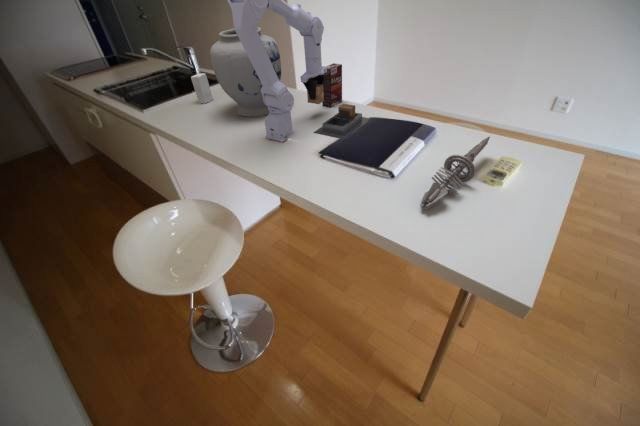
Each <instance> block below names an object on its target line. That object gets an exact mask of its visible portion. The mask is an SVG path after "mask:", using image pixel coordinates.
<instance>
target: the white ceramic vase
mask: <svg viewBox="0 0 640 426" xmlns="http://www.w3.org/2000/svg"><path fill="white" fill-rule="evenodd" d="M256 29H257V32H258V34H259V36H260V39H261V41H262V43H263V45H264V48H265V50H266V52H267V54H268V57H269V59H270V61H271V63H272V66H273V68H274V70H275V72H276V75H277V77H278V79H279V81H281V78H282V63H281V62H282V61H281V55H280V50H279V45H278V43H277V41H276V40H275V38H273V37H272V36H269V35H265V34H262V33H261V32H262V27H258V26H257V28H256ZM218 36H219V37H220V39H219V40H218V41H216V42H215V43H214V44H212V46H210V47H211V48H210V50H209V51H210V55H209V56H210V60H211V61H210V62H211V65H212V66H211V67H212V69H213V73H214V75H215V77H216V79H217V80H216V81H217V83H218V84H219V85H220V87H221V89H222V90H223V91H224V93H225V94H226V95H227V96H228V97H229V98H230V99H232V101H234V102H235V103H237V105H238V107H237V109H236V113H237V114H238V115H239V116H242V117H248V118H249V117H250V118H253V117H262V116H266V115H267V116H268V114H269V110H268V106H266V105H265V104H264V102H263V96H262V93H261V91H260V90H261V88H262V86H263V85H262V83H261V81H260V79H259V77H258V75H257V73H256V71H255V69H254V67H253V65H252V63H251V61H250V59H249V57H248V55H247V53H246V51H245V49H244V47H243V45H242V43H241V41H240V39H239V37H238V35H237V33H236V31H235V28H230V29H227V30H222V31H220V32H219V33H218Z"/></svg>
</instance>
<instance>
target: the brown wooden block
mask: <svg viewBox="0 0 640 426" xmlns="http://www.w3.org/2000/svg"><path fill="white" fill-rule="evenodd" d="M337 108H338V114H339V117H340V118H345V119H351V120H352V119H353V118H354V117H355V113H356V105H355V104H349V103H342V104H339V105H338V107H337Z"/></svg>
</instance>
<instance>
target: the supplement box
mask: <svg viewBox="0 0 640 426" xmlns="http://www.w3.org/2000/svg"><path fill="white" fill-rule="evenodd" d="M325 67H327V72H326V73H325V74H324V75H327V78H326V80H325V82H324V86H323V93H324V101H323V102H322V107H325V108H329V109H331V108H333V107H336V106H337V105H340V104H341V103H343V64H342V63H331V64H329V65H325Z"/></svg>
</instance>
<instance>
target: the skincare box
mask: <svg viewBox="0 0 640 426" xmlns="http://www.w3.org/2000/svg"><path fill="white" fill-rule="evenodd" d="M190 78H191V79H190V80H191V83H192V85H193V88H194V91H195V95H196V98H197V101H198V103H199V104H201V103H206V104H208V103H210V102H211V101H213V100H214V98H213V94H212V90H211V87H210V83H209V80H208V77H207V74H206V73H196V74H195V75H191V76H190ZM209 101H210V102H209ZM207 102H208V103H207Z"/></svg>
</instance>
